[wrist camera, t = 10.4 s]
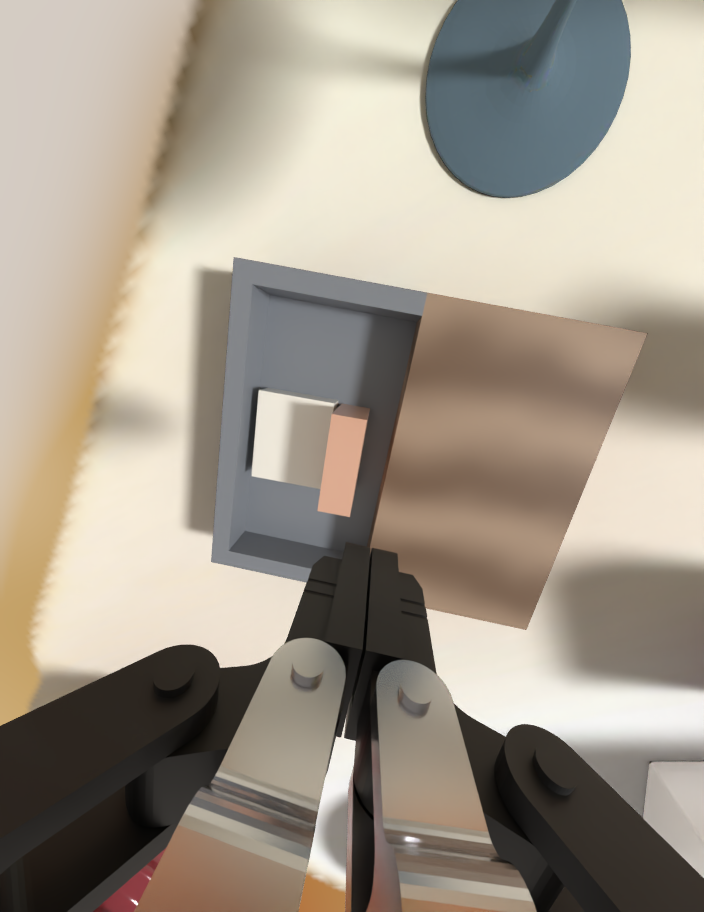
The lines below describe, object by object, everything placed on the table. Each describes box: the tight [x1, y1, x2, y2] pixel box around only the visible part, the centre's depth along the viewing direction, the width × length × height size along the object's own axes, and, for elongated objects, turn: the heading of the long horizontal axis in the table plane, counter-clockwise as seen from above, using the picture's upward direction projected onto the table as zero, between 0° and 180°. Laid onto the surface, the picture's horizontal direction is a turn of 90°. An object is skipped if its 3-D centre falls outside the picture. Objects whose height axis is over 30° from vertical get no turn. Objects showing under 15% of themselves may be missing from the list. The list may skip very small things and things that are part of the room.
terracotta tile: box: [317, 404, 370, 517], centre depth 22 cm, size 6×5×2 cm
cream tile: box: [252, 388, 338, 489], centre depth 23 cm, size 6×5×2 cm
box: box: [211, 257, 427, 582], centre depth 23 cm, size 20×11×4 cm, turn 170°
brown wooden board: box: [367, 293, 648, 630], centre depth 23 cm, size 20×12×4 cm, turn 170°
